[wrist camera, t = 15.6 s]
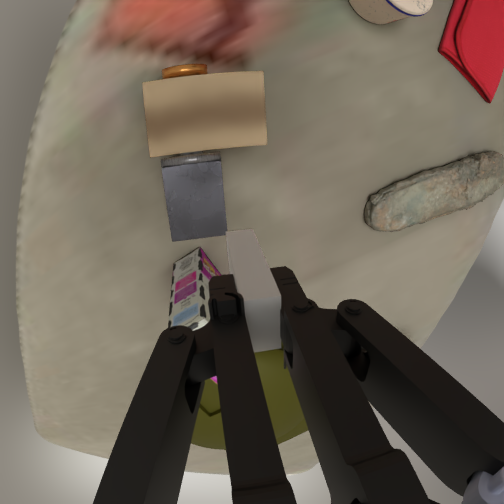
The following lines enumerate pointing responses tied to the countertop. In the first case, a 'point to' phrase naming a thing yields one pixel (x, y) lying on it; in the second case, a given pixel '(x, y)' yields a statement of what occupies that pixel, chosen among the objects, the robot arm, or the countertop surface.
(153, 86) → the oak block
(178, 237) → the plate
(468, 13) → the red long flat piece
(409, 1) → the teacup with lid
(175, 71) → the lynch pin
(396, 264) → the countertop surface
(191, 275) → the candy bar box
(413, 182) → the long grey stone
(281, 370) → the spaceship
